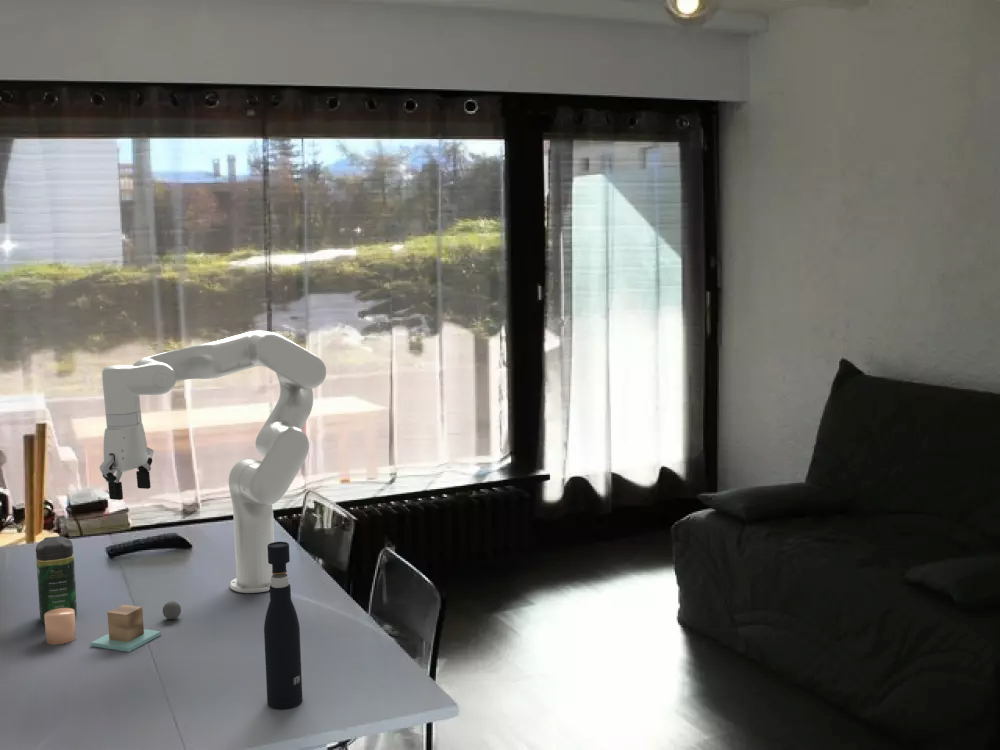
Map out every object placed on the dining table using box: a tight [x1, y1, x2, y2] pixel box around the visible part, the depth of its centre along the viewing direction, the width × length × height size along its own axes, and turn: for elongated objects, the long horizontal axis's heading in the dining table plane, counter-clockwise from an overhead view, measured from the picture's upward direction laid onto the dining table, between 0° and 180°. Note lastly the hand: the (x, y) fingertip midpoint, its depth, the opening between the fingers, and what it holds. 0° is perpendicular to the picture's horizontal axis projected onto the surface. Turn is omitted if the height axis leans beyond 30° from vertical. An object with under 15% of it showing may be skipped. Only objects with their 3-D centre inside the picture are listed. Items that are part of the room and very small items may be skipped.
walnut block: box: [107, 604, 145, 642], centre depth 226 cm, size 5×5×6 cm
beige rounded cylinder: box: [44, 608, 77, 646], centre depth 228 cm, size 6×6×6 cm
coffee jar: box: [35, 535, 78, 625], centre depth 240 cm, size 10×8×19 cm
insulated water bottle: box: [263, 541, 303, 710], centre depth 193 cm, size 6×6×30 cm
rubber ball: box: [162, 600, 182, 620], centre depth 239 cm, size 4×4×4 cm
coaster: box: [90, 628, 162, 653], centre depth 227 cm, size 10×10×1 cm
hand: (130, 493), depth 241 cm, fingers open, 9 cm apart
